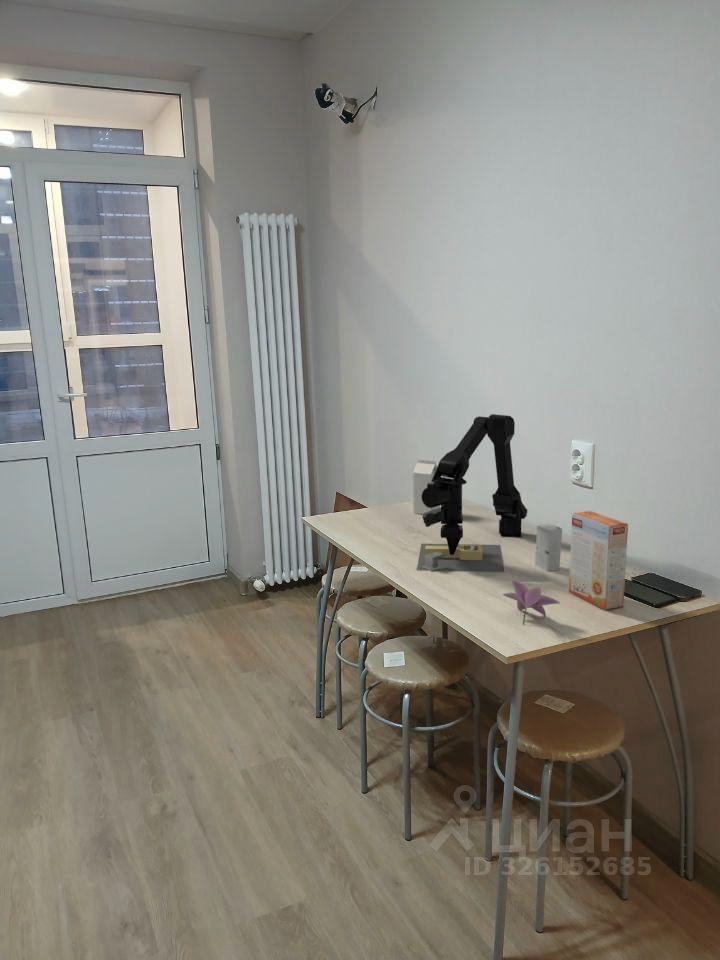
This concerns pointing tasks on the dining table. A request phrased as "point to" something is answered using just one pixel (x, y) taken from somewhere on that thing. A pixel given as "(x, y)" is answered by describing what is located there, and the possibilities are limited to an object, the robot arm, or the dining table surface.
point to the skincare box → (548, 547)
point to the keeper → (432, 561)
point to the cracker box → (598, 559)
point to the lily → (529, 598)
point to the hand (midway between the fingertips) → (451, 552)
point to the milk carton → (422, 484)
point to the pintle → (470, 547)
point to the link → (457, 552)
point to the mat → (488, 563)
